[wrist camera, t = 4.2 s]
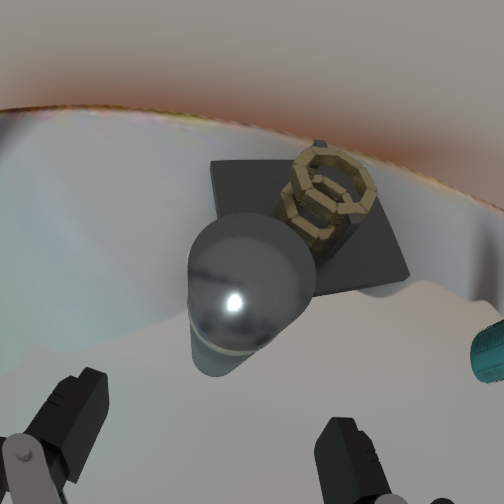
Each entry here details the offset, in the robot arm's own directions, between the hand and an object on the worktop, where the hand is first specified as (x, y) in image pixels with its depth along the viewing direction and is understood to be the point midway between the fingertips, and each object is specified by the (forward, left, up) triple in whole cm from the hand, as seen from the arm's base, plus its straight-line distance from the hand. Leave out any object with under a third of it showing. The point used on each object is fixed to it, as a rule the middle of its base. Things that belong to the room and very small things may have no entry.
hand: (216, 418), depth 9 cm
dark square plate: (+13, +15, -13) cm, 23 cm away
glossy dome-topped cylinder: (+2, +4, -13) cm, 13 cm away
